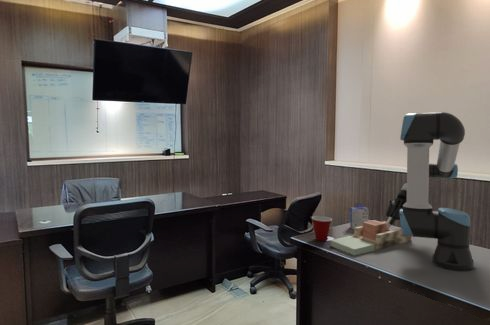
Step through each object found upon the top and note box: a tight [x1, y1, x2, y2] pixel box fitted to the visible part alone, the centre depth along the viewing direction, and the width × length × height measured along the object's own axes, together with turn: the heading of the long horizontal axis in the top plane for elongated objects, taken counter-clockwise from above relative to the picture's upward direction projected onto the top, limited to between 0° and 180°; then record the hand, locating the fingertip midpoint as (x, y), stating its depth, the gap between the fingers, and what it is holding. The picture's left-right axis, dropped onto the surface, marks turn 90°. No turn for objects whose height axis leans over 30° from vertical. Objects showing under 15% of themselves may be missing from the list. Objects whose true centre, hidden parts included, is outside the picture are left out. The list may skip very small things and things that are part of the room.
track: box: [351, 220, 413, 251], centre depth 178 cm, size 27×16×7 cm, turn 118°
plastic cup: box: [311, 215, 333, 242], centre depth 183 cm, size 11×11×12 cm
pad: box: [330, 235, 375, 257], centre depth 169 cm, size 13×16×3 cm
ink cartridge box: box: [349, 203, 370, 230], centre depth 202 cm, size 10×6×14 cm, turn 89°
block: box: [363, 219, 386, 240], centre depth 175 cm, size 8×8×8 cm
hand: (385, 228), depth 179 cm, fingers closed
